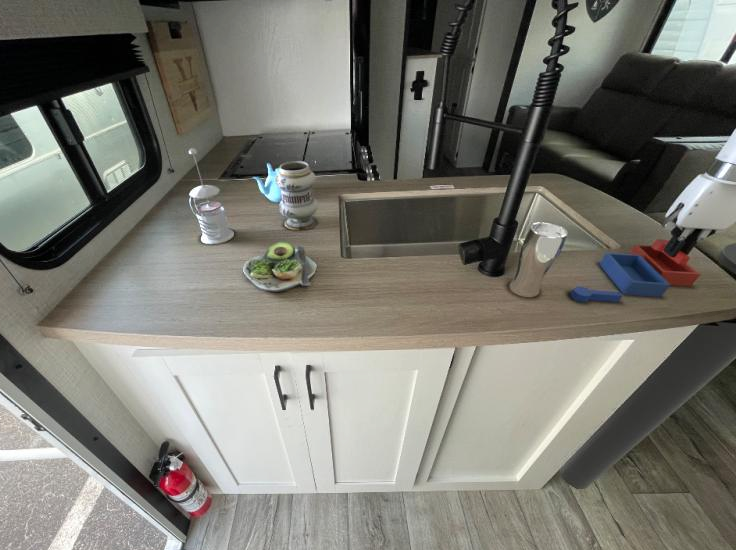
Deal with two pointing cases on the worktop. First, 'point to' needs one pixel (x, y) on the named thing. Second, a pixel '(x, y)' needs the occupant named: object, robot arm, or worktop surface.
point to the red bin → (667, 266)
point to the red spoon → (660, 246)
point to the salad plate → (280, 268)
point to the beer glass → (537, 257)
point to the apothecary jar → (297, 194)
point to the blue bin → (634, 275)
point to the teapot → (270, 185)
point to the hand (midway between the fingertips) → (673, 253)
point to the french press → (210, 213)
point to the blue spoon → (594, 295)
